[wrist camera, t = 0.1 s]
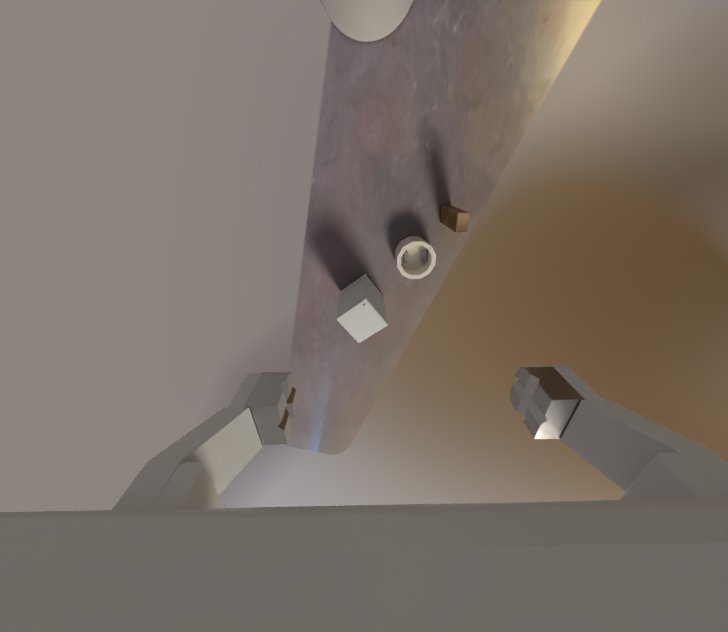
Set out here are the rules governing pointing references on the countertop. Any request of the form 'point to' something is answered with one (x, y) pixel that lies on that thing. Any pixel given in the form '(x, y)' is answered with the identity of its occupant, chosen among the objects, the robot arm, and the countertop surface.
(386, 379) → the countertop surface
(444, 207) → the brown rectangular block
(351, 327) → the supplement box
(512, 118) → the countertop surface
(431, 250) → the faceted white cup
